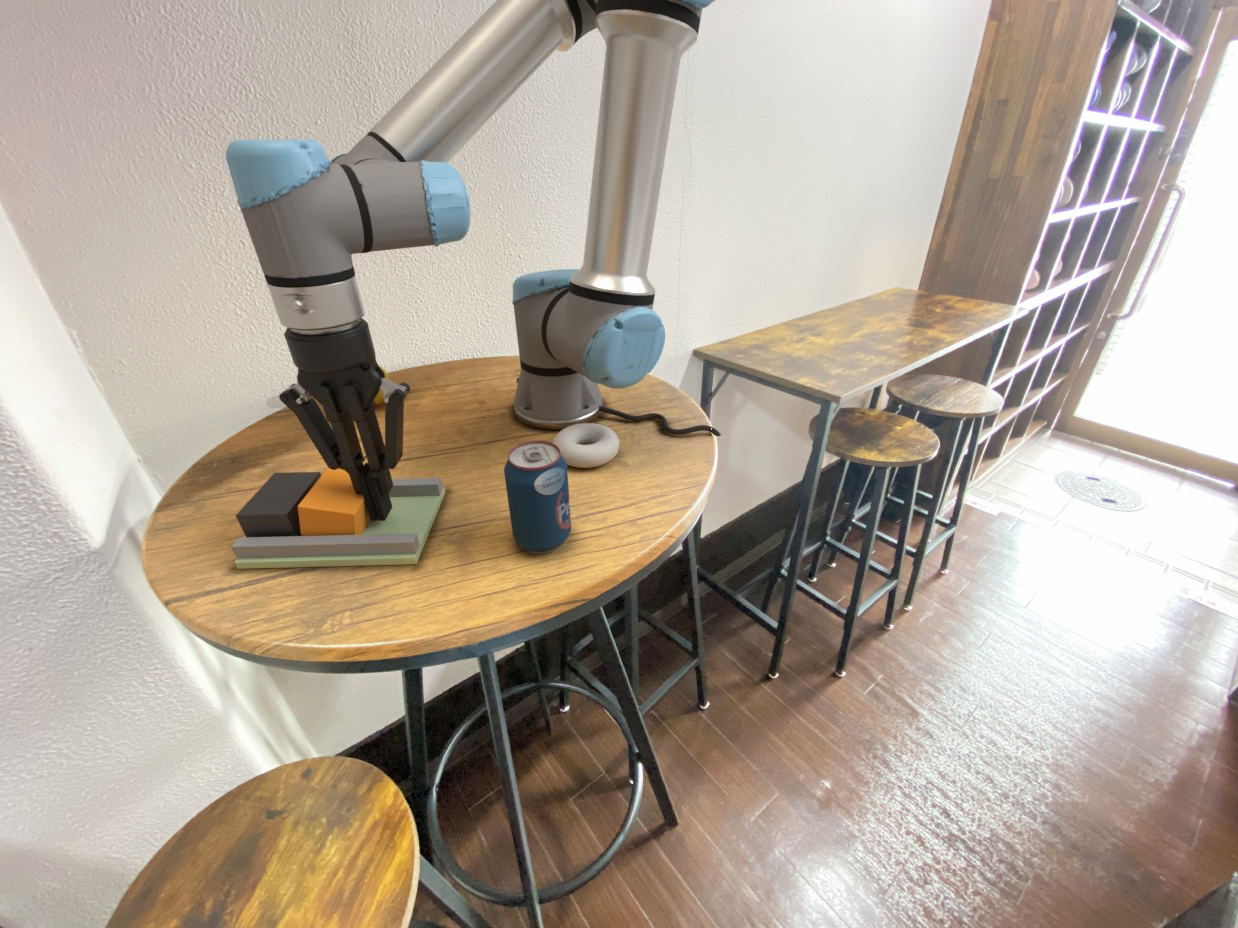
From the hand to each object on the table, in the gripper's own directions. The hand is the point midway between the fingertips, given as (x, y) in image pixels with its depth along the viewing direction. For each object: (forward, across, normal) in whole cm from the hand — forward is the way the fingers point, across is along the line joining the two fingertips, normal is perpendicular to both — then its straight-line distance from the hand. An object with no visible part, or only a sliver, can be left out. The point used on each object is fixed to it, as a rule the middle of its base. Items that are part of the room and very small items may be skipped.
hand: (381, 513), depth 65 cm
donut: (+2, +24, +16) cm, 30 cm away
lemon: (+2, -13, +34) cm, 37 cm away
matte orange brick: (+1, -5, 0) cm, 5 cm away
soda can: (+2, +20, -2) cm, 20 cm away
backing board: (+2, -4, 0) cm, 5 cm away
